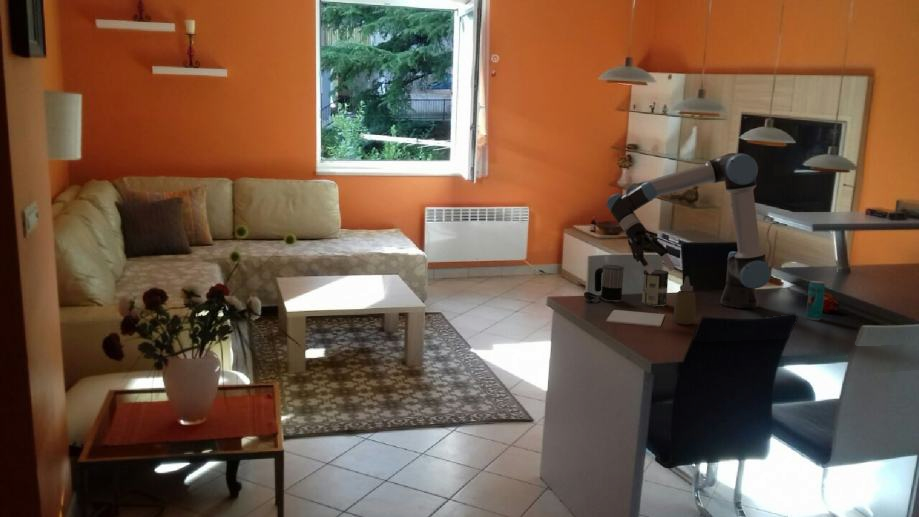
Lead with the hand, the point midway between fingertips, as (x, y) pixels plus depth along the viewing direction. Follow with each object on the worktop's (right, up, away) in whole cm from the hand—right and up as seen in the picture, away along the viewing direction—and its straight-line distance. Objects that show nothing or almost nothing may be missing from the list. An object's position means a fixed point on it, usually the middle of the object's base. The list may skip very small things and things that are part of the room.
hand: (662, 270), depth 313 cm
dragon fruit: (+73, -17, +22) cm, 78 cm away
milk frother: (-17, -14, +33) cm, 39 cm away
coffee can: (+3, -15, +28) cm, 32 cm away
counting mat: (-10, -19, 0) cm, 21 cm away
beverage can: (+62, -19, +7) cm, 65 cm away
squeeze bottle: (+7, -20, -5) cm, 22 cm away
